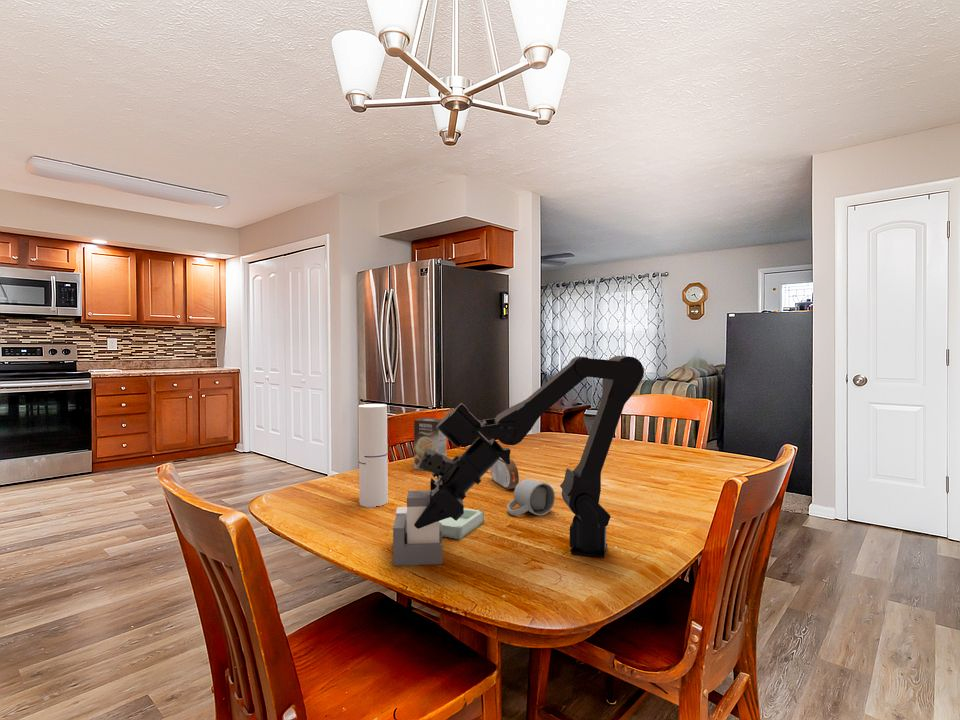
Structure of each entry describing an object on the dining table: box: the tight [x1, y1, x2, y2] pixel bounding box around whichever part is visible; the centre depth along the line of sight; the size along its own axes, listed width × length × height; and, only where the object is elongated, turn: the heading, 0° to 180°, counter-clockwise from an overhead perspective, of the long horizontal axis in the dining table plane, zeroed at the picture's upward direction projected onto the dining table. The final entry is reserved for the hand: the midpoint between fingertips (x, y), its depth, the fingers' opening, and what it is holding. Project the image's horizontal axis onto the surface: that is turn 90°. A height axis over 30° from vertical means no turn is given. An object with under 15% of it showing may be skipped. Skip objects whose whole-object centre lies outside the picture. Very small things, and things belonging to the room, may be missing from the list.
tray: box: [439, 507, 485, 541], centre depth 119 cm, size 13×12×2 cm
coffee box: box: [413, 417, 447, 472], centre depth 172 cm, size 9×6×16 cm
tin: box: [489, 458, 520, 490], centre depth 152 cm, size 15×3×8 cm, turn 22°
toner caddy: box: [406, 489, 439, 544], centre depth 102 cm, size 6×5×12 cm
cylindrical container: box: [357, 403, 389, 508], centre depth 136 cm, size 7×7×25 cm
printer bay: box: [392, 506, 443, 567], centre depth 104 cm, size 9×12×7 cm
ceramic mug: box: [506, 478, 556, 517], centre depth 129 cm, size 11×8×8 cm
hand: (416, 522), depth 102 cm, fingers closed on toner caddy, 5 cm apart
